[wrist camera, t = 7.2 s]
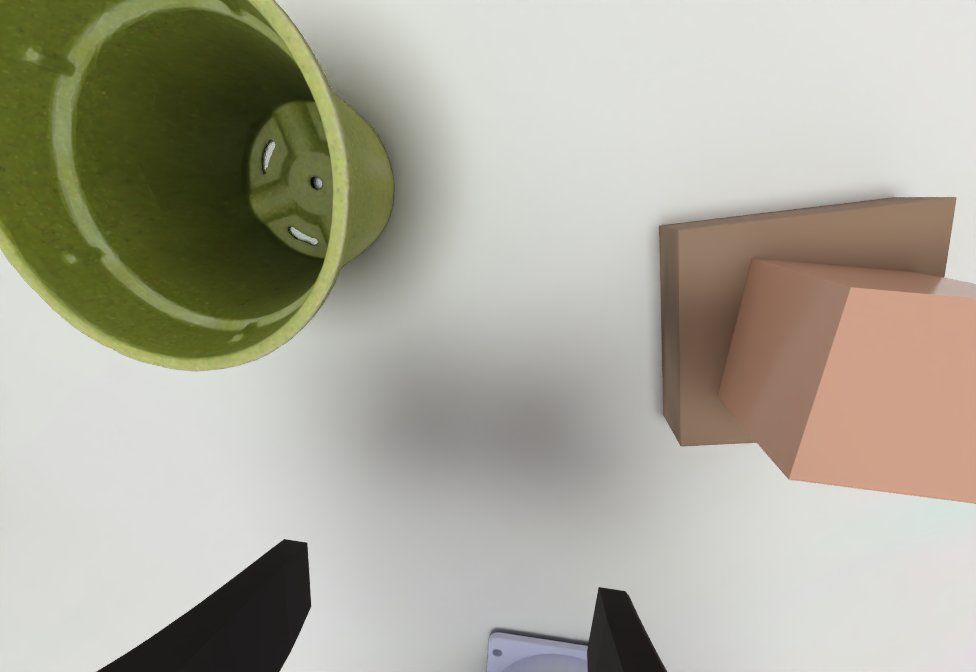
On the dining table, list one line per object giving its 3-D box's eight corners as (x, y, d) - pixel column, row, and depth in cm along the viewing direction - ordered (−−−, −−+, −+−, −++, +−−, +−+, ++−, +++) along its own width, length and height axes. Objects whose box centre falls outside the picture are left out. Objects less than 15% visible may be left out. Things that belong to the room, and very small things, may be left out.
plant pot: (475, 115, 17) (409, 38, 9) (391, 333, 20) (282, 430, 12) (246, 8, 17) (-45, -175, 8) (195, 243, 20) (-56, 276, 11)
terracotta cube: (865, 414, 16) (1002, 506, 11) (717, 396, 16) (788, 479, 12) (917, 272, 14) (1102, 309, 10) (752, 258, 15) (850, 287, 10)
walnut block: (862, 398, 19) (920, 434, 16) (660, 410, 20) (680, 446, 17) (885, 197, 16) (956, 197, 14) (656, 224, 18) (678, 230, 15)
